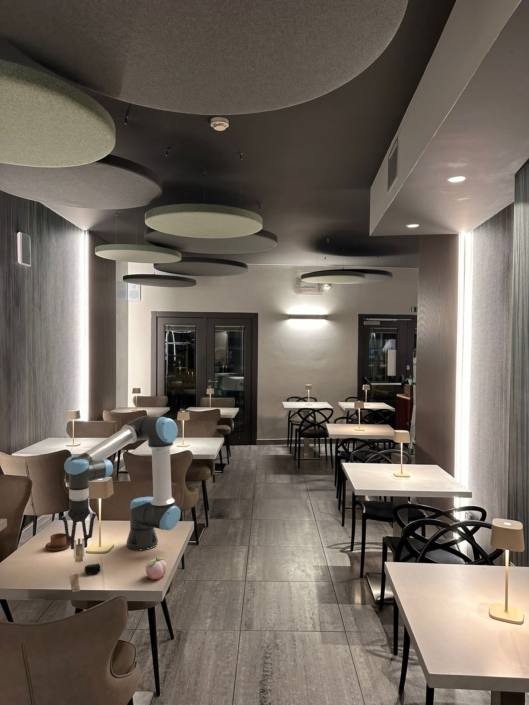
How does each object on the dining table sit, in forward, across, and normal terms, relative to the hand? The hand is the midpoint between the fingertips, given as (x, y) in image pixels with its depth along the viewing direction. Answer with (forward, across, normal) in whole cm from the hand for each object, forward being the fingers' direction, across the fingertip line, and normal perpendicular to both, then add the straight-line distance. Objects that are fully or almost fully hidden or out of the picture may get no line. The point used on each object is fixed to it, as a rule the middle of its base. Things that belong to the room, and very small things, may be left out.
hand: (79, 556), depth 221 cm
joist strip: (+14, +1, -7) cm, 16 cm away
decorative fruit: (+15, -31, +2) cm, 34 cm away
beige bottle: (+2, 0, 0) cm, 2 cm away
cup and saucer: (+15, +6, -54) cm, 56 cm away
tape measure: (+14, -10, -13) cm, 22 cm away
